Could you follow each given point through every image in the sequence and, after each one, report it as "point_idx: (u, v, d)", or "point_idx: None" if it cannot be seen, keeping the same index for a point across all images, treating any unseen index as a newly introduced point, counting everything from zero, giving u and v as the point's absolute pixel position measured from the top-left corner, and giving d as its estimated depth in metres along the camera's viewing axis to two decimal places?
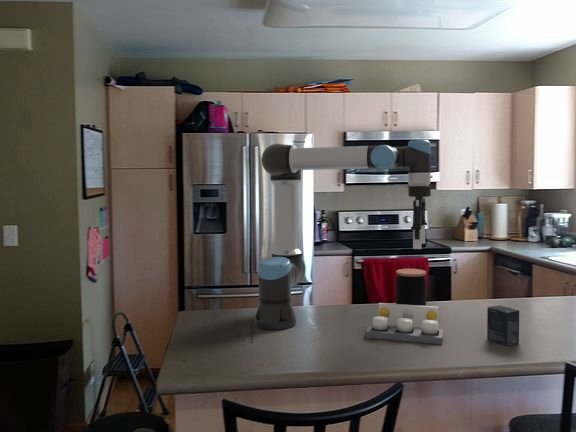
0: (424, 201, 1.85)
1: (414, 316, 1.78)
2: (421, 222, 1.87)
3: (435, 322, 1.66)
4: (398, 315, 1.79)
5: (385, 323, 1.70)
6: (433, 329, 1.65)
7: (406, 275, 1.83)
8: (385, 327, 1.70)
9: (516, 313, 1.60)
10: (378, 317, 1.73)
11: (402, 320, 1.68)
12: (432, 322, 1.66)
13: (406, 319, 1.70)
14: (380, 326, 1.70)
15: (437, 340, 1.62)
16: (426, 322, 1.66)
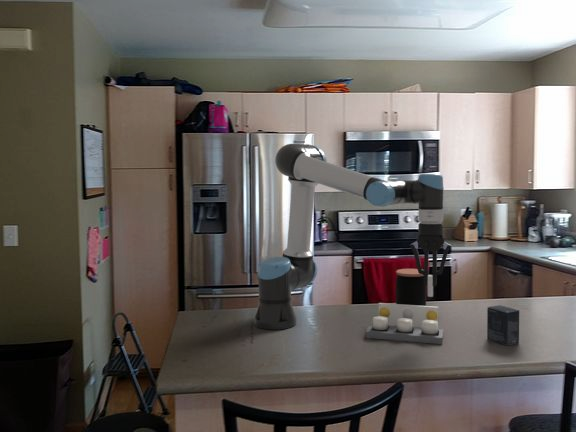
0: (447, 247, 1.62)
1: (414, 316, 1.78)
2: None
3: (435, 322, 1.66)
4: (398, 315, 1.79)
5: (385, 323, 1.70)
6: (433, 329, 1.65)
7: (406, 275, 1.83)
8: (385, 327, 1.70)
9: (516, 313, 1.60)
10: (378, 317, 1.73)
11: (402, 320, 1.68)
12: (432, 322, 1.66)
13: (406, 319, 1.70)
14: (380, 326, 1.70)
15: (437, 340, 1.62)
16: (426, 322, 1.66)
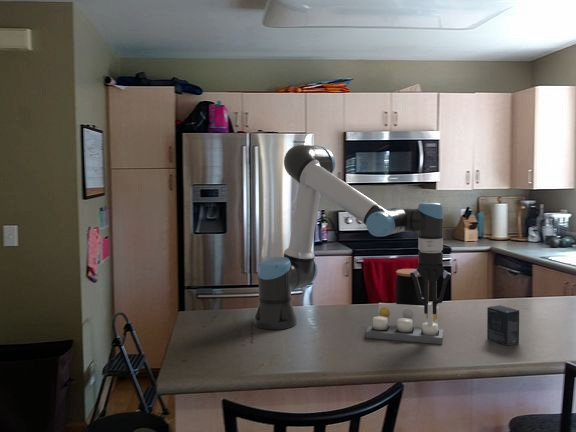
0: (447, 276, 1.63)
1: (414, 316, 1.78)
2: None
3: (435, 324, 1.66)
4: (398, 315, 1.79)
5: (385, 323, 1.70)
6: (433, 332, 1.65)
7: (406, 275, 1.83)
8: (385, 327, 1.70)
9: (516, 313, 1.60)
10: (378, 317, 1.73)
11: (402, 320, 1.68)
12: None
13: (406, 319, 1.70)
14: (380, 326, 1.70)
15: (437, 340, 1.62)
16: (426, 324, 1.66)
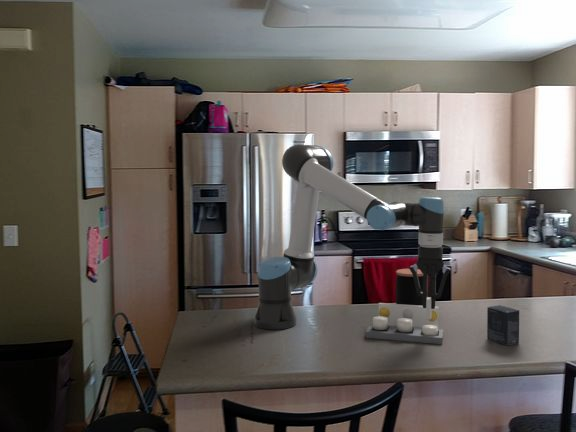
0: (446, 271, 1.63)
1: (414, 316, 1.78)
2: None
3: (435, 327, 1.66)
4: (398, 315, 1.79)
5: (385, 323, 1.70)
6: (433, 334, 1.65)
7: (406, 275, 1.83)
8: (385, 327, 1.70)
9: (516, 313, 1.60)
10: (378, 317, 1.73)
11: (402, 320, 1.68)
12: (432, 327, 1.66)
13: (406, 319, 1.70)
14: (380, 326, 1.70)
15: (437, 340, 1.62)
16: (426, 327, 1.66)
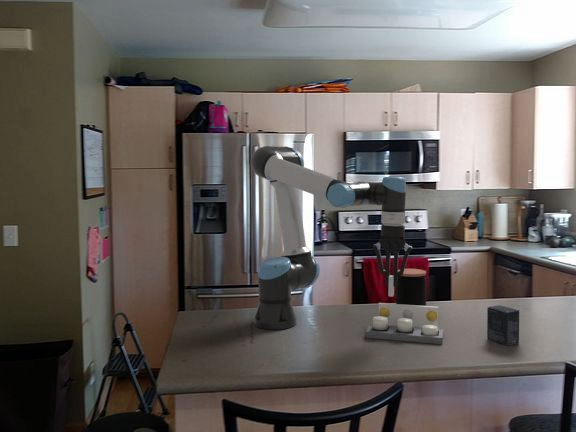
0: (408, 249, 1.66)
1: (414, 316, 1.78)
2: None
3: (435, 327, 1.66)
4: (398, 315, 1.79)
5: (385, 323, 1.70)
6: (433, 334, 1.65)
7: (406, 275, 1.83)
8: (385, 327, 1.70)
9: (516, 313, 1.60)
10: (378, 317, 1.73)
11: (402, 320, 1.68)
12: (432, 327, 1.66)
13: (406, 319, 1.70)
14: (380, 326, 1.70)
15: (437, 340, 1.62)
16: (426, 327, 1.66)
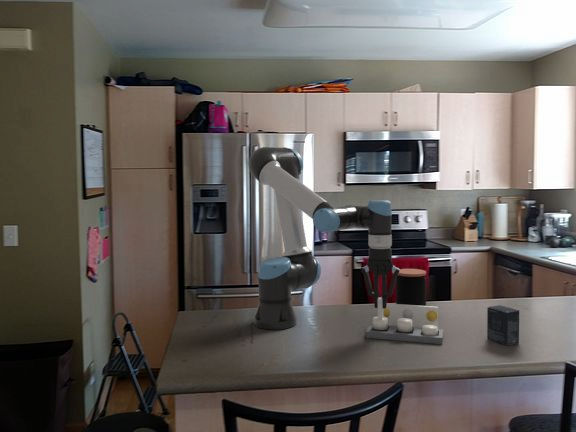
0: (395, 272, 1.68)
1: (414, 316, 1.78)
2: None
3: (435, 327, 1.66)
4: (398, 315, 1.79)
5: (385, 323, 1.70)
6: (433, 334, 1.65)
7: (406, 275, 1.83)
8: (385, 327, 1.70)
9: (516, 313, 1.60)
10: None
11: (402, 320, 1.68)
12: (432, 327, 1.66)
13: (406, 319, 1.70)
14: (380, 326, 1.70)
15: (437, 340, 1.62)
16: (426, 327, 1.66)
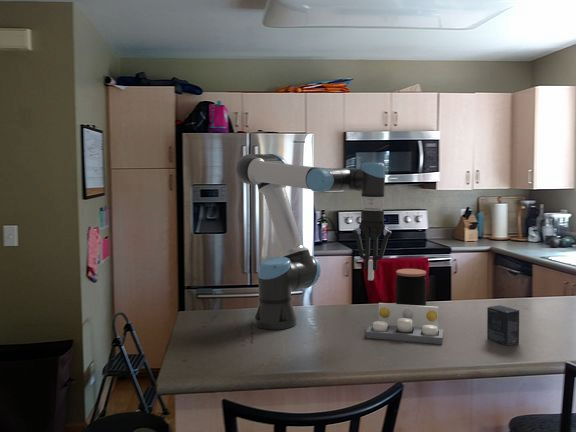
0: (387, 234, 1.69)
1: (414, 316, 1.78)
2: None
3: (435, 327, 1.66)
4: (398, 315, 1.79)
5: (385, 328, 1.70)
6: (433, 334, 1.65)
7: (406, 275, 1.83)
8: None
9: (516, 313, 1.60)
10: (378, 322, 1.73)
11: (402, 320, 1.68)
12: (432, 327, 1.66)
13: (406, 319, 1.70)
14: None
15: (437, 340, 1.62)
16: (426, 327, 1.66)
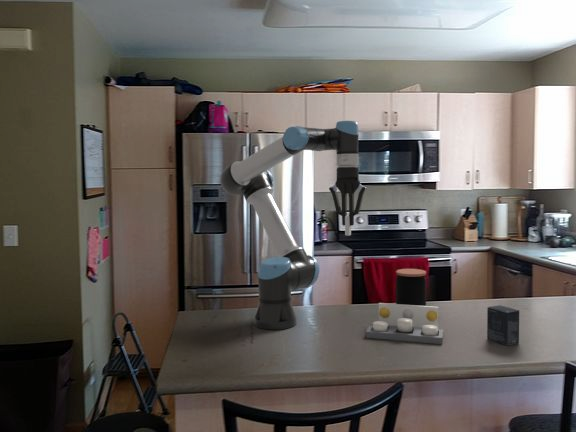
0: (362, 189, 1.75)
1: (414, 316, 1.78)
2: None
3: (435, 327, 1.66)
4: (398, 315, 1.79)
5: (385, 328, 1.70)
6: (433, 334, 1.65)
7: (406, 275, 1.83)
8: None
9: (516, 313, 1.60)
10: (378, 322, 1.73)
11: (402, 320, 1.68)
12: (432, 327, 1.66)
13: (406, 319, 1.70)
14: None
15: (437, 340, 1.62)
16: (426, 327, 1.66)
